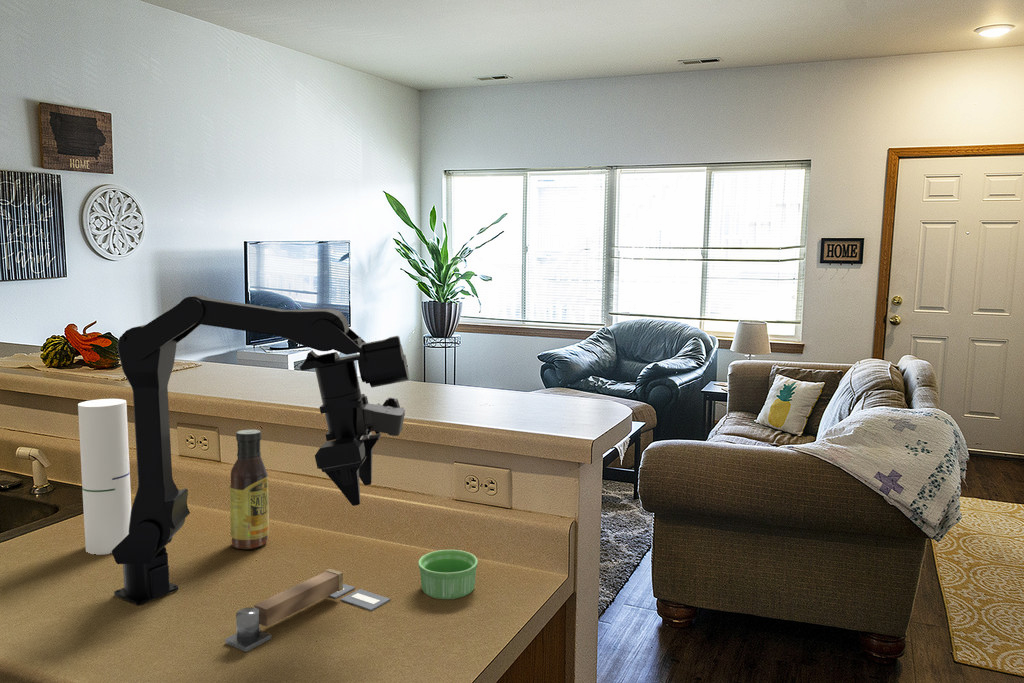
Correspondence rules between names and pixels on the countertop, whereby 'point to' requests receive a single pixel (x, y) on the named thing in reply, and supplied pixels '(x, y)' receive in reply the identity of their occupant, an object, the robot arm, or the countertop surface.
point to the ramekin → (448, 573)
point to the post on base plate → (247, 630)
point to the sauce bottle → (249, 494)
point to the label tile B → (365, 599)
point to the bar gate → (299, 597)
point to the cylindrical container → (104, 473)
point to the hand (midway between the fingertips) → (362, 494)
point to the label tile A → (342, 591)
